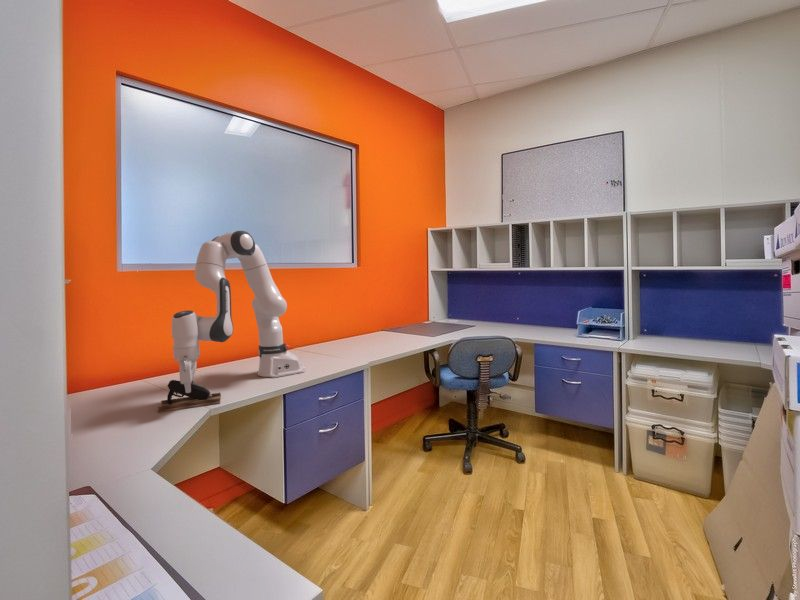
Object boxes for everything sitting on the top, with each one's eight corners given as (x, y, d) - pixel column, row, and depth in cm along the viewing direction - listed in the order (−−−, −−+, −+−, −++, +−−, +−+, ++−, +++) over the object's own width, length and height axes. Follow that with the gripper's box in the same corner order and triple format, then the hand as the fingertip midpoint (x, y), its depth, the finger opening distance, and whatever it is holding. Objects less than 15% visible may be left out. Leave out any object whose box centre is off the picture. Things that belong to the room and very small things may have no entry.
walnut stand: (220, 395, 161) (220, 391, 161) (220, 403, 152) (219, 399, 152) (162, 404, 153) (161, 399, 153) (157, 412, 144) (157, 408, 144)
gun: (203, 415, 154) (214, 391, 154) (159, 402, 148) (171, 377, 149) (204, 412, 156) (215, 389, 157) (161, 399, 151) (172, 375, 151)
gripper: (193, 358, 142) (196, 395, 143) (198, 347, 161) (201, 380, 162) (173, 360, 140) (176, 398, 141) (180, 349, 158) (183, 382, 160)
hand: (189, 388), depth 152 cm, fingers open, 8 cm apart
